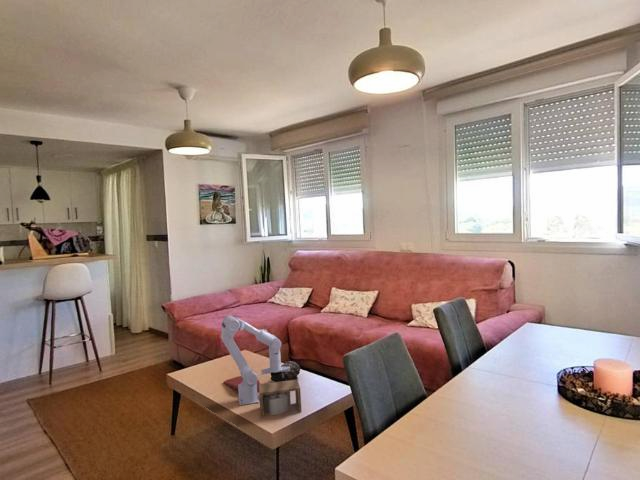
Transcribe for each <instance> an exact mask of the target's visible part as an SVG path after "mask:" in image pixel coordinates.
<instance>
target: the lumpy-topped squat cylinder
mask: <svg viewBox="0 0 640 480" xmlns="http://www.w3.org/2000/svg"><path fill="white" fill-rule="evenodd" d="M291 403H292V402H291V391H289V392H281V393H274V394H266V395H263V410H264V413H265V412H266V413H267V414H268V415H270V416H275V415H276V416H277V415H279V414H282V413H284V412H286V411H288V410H289V409H290V408H291V406H292V404H291Z"/></svg>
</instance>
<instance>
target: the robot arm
mask: <svg viewBox="0 0 640 480" xmlns="http://www.w3.org/2000/svg"><path fill="white" fill-rule="evenodd" d="M243 330H245V331H246V332H247V333H249V334H252V335H254V336H255V339H256V340H257V341H259V342H260V343H263V344H264V345H266V346H268V358H269V367H268V368H264V369H261V370H260V371H261V375H262V376H263V375H266V374H267V375H268V374H270V376H271V377H272V378H273V380H274V382H279V379H280V377H281V372H284V371H288V372H289V371H290V367H289V366H288V367H281V366H282V362H281V361H282V360H281V359H282V357H281V347H282V344H283V343H282V342H281V340H280V339H279V338H278V337H276V336H275V334H271V333H270V332H268V329H266V328H264V329H263V328H262V329H257V328H256V327H254V326H253V325H251V324H250V323H248V322H247V321H245V320H243V319H241V318H239V317H235V316H234V315H231V314H229V315H226V316H224V317H223V320H222V322H221V335H220V336H221V341H222V343H223V344H224V346H225V347H226V349H227V350H228V353H229V354H230V356H231V358H232V359H233V360H234V362H235V365H236V366H237V368H238V369H239V372H240V376H241V377H242V378H243V381H242V383H241V384H238V389H237V390H238V395H237V398H238V405H239V406H242V405H243V406H244V405H249V404H257V403H260V397H259V393H257V380H259V377H258V376H259V375H258V374H257V373H256V372H255V371H254V370H253V369H252V367H250V365H249V364H248V361H247V360H246V359H245V357H244V355H243V353H242V351H241V350H240V348H239V347H238V345H237V343H236V341H235V339H234V337H235V335H236V333H237V332H238V331H243ZM271 377H270V378H271Z"/></svg>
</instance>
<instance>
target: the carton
mask: <svg viewBox="0 0 640 480" xmlns="http://www.w3.org/2000/svg"><path fill="white" fill-rule="evenodd" d="M242 381H243V378H242V377H241V375H239V376H236V377H232V378H228V379H226V380H223V384H224V385H226V386H228V387H231V388H233V389H235V390H238V384H241V383H242ZM259 384H261V382H260V380H259V379H258V380H257V394H259Z"/></svg>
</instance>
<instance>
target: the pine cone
mask: <svg viewBox="0 0 640 480" xmlns="http://www.w3.org/2000/svg"><path fill="white" fill-rule="evenodd" d="M288 366H289V367H290V371H289V372H288V371H284V372H281V377H280V379H279V382H281V381H289V380H299V377H298V375H299V374H300V373H301V372H300V371H301V367H300V365H299V364H298V363H297V362H296V361H293V360H292V361H291V360H289V361H286V362H284V363H283V364H281V367H288ZM270 380H271V381H272V383H273V382H274V380H273V378H272V377H270Z"/></svg>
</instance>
